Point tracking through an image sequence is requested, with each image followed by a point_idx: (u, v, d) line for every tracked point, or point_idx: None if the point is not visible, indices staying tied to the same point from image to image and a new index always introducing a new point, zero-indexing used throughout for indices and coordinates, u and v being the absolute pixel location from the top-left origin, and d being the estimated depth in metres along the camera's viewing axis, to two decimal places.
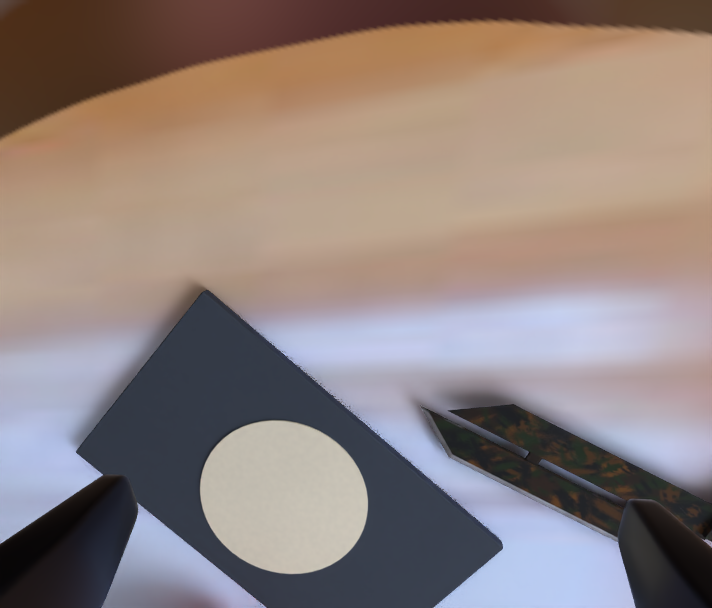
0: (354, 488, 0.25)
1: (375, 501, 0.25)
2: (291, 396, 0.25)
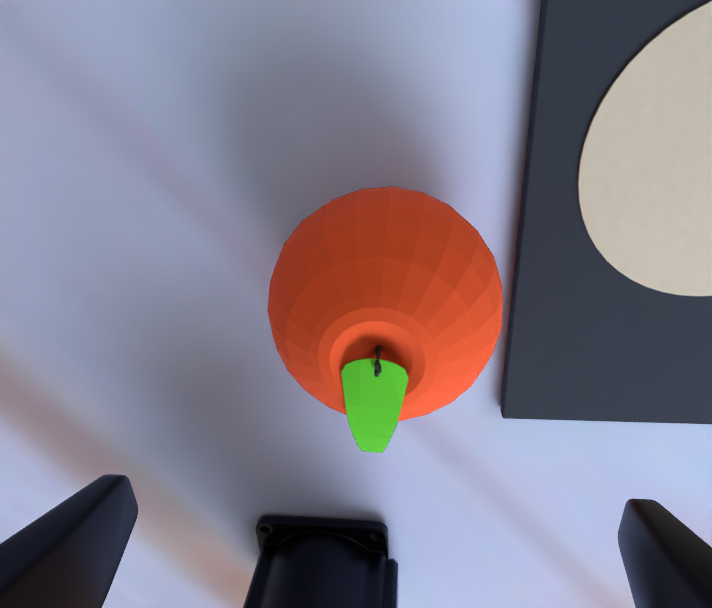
0: None
1: None
2: None
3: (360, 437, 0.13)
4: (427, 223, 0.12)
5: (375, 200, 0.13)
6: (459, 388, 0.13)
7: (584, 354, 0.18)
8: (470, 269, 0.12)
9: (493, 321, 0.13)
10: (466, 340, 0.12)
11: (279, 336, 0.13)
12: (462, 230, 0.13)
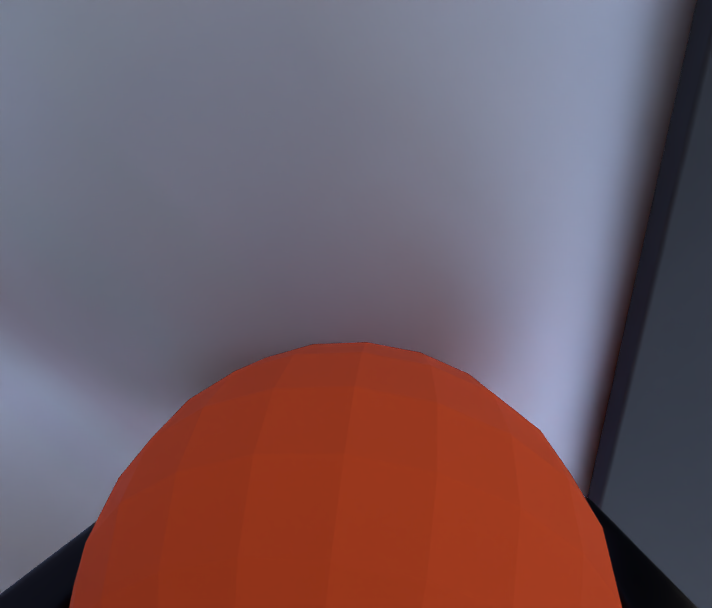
0: None
1: None
2: None
3: None
4: (452, 529, 0.04)
5: (310, 433, 0.05)
6: None
7: None
8: None
9: None
10: None
11: None
12: (543, 521, 0.05)
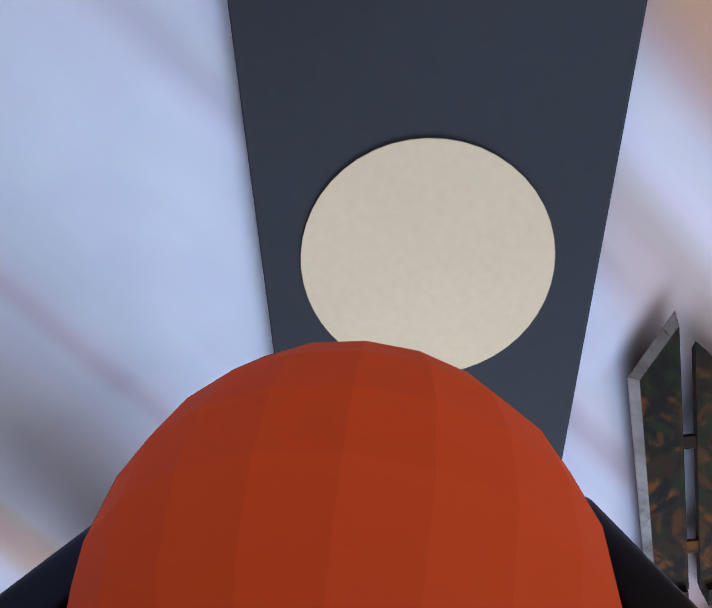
0: (507, 325, 0.18)
1: (510, 354, 0.19)
2: (577, 172, 0.16)
3: None
4: (452, 528, 0.04)
5: (310, 431, 0.05)
6: None
7: None
8: None
9: None
10: None
11: None
12: (544, 520, 0.05)
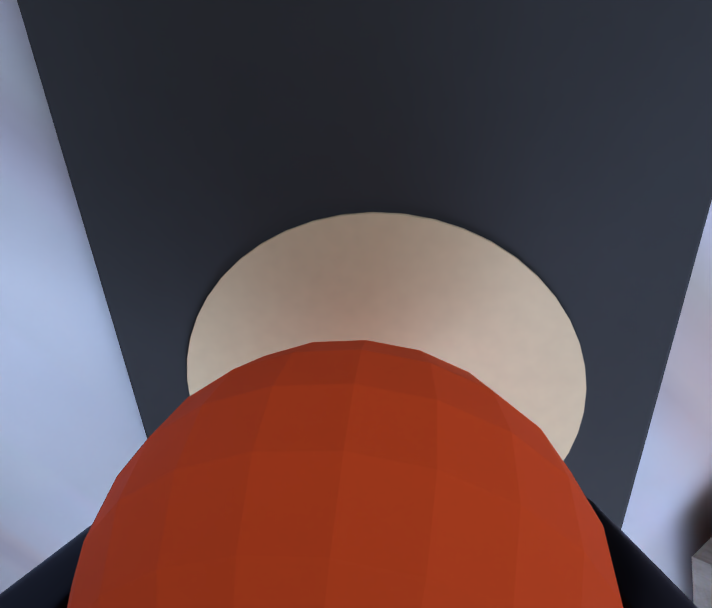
0: None
1: None
2: (627, 268, 0.09)
3: None
4: (452, 528, 0.04)
5: (310, 430, 0.05)
6: None
7: None
8: None
9: None
10: None
11: None
12: (545, 519, 0.05)
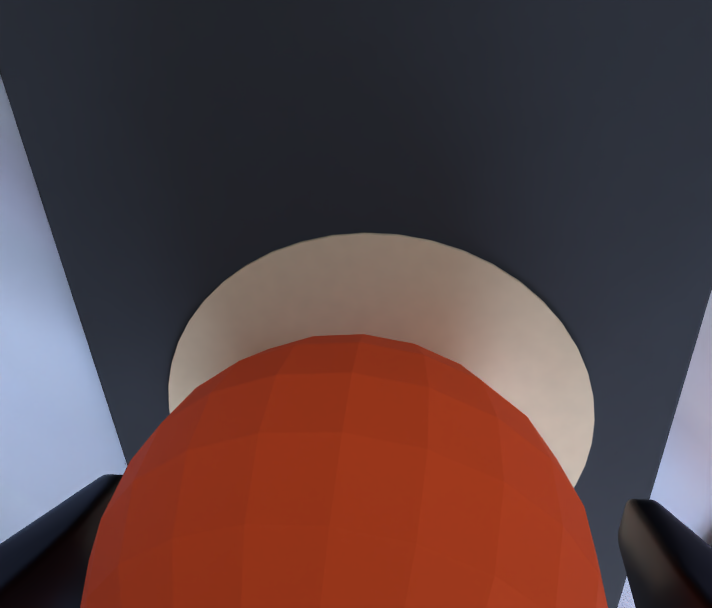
0: None
1: None
2: (639, 294, 0.09)
3: None
4: (440, 500, 0.05)
5: (311, 414, 0.05)
6: None
7: None
8: None
9: None
10: None
11: None
12: (526, 496, 0.05)
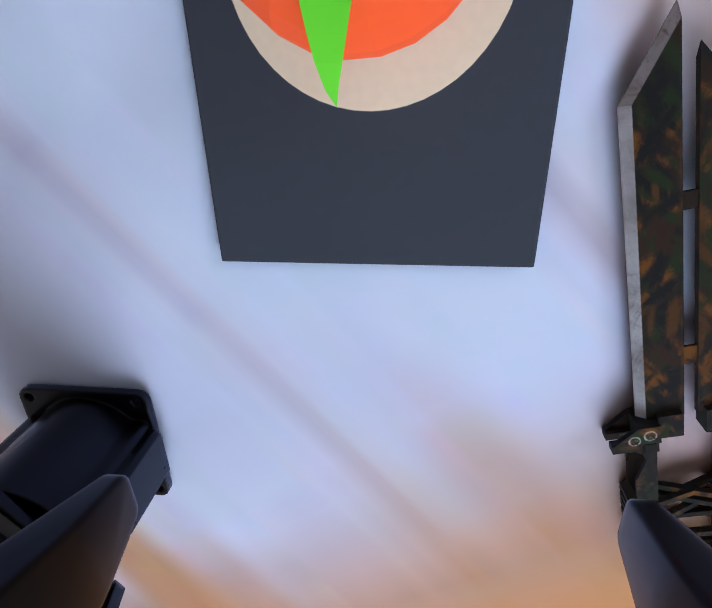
0: (472, 33, 0.15)
1: (476, 77, 0.16)
2: None
3: (309, 12, 0.10)
4: None
5: None
6: None
7: (281, 183, 0.18)
8: None
9: None
10: None
11: None
12: None
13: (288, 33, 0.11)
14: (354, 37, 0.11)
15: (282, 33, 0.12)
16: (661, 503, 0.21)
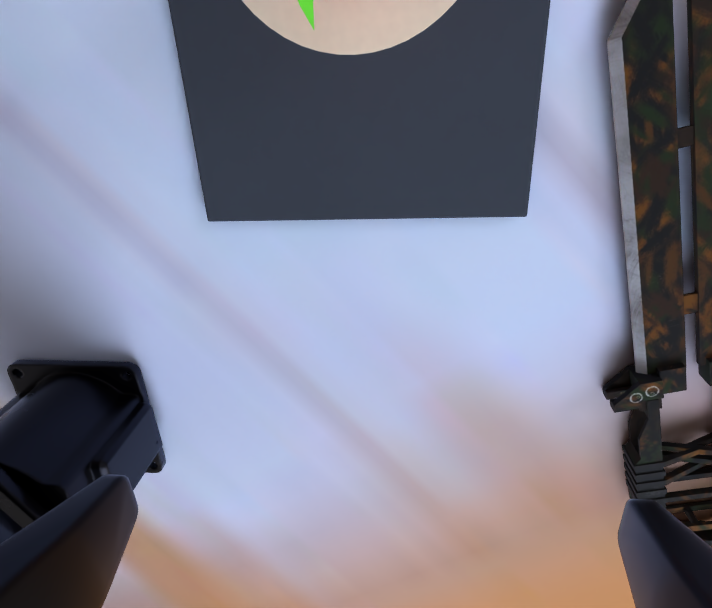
0: None
1: (461, 14, 0.15)
2: None
3: None
4: None
5: None
6: None
7: (265, 136, 0.17)
8: None
9: None
10: None
11: None
12: None
13: None
14: None
15: None
16: (665, 463, 0.21)
